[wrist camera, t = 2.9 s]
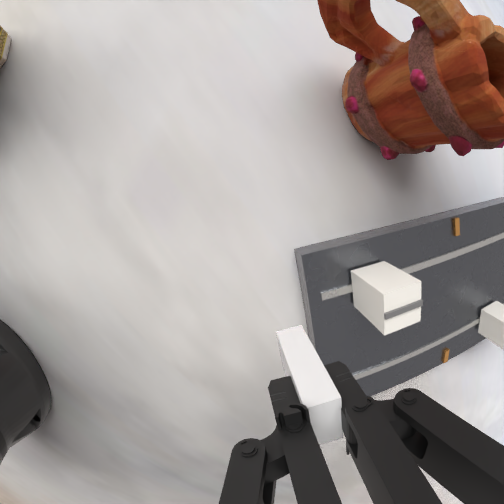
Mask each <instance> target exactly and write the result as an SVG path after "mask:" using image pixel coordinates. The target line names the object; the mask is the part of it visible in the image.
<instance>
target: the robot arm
mask: <svg viewBox="0 0 504 504" xmlns="http://www.w3.org/2000/svg"><path fill="white" fill-rule="evenodd" d="M276 334H277V339H278V344H279V349H280V353H281V358H282V363H283V368H284V371H285V374H286V377H283V378H279V379H275V380H271V381H270V384H269V387H268V389H269V393H270V397H271V401H272V405H273V409H274V414H275V419H276V423H277V426H276V429H275V431H274V432H273V433H272V434H271V435H270V436H268V437H267V438H265V439H263V440H258V439H253V438H250V439H244V440H242V441H240V442H238V443H237V444H236V445H235V446H234V448H233V450H232V453H231V457H230V461H229V466H228V470H227V474H226V478H225V482H224V486H223V489H222V493H221V497H220V501H219V504H274V496H275V488H276V480H277V479H279V478H281V477H283V476H285V475H287V474H289V473H290V477H291V480H292V484H293V488H294V492H295V495H296V499H297V503H298V504H342V503H341V500H340V498H339V495H338V493H337V490H336V487H335V485H334V482H333V480H332V477H331V474H330V472H329V469H328V467H327V464H326V461H325V459H324V456H323V454H322V451H321V449H320V446H319V445H321V444H324V443H328V442H331V441H334V440H337V439H340V438H343V432H344V435H345V437H346V452H347V455H348V454H349V452H350V454H351V456H352V458H353V460H354V462H355V464H356V467H357V469H358V471H359V473H360V475H361V477H362V479H363V482H364V484H365V486H366V488H367V490H368V492H369V495H370V497H371V499H372V501H373V503H374V504H442V503H441V501H440V499H439V498H438V496H437V495H436V493H435V492H434V490H433V488H432V487H431V485H430V484H429V482H428V481H427V479H426V477H425V476H424V474H423V473H422V471H421V470H420V468H419V467H421V468H422V469H423V470H424V471H425V472H427V473H428V474H429V475H430V476H431V477H432V478H434V479H435V480H436V481H437V482H438V483H440V484H441V485H442V486H443V487H444V488H446V489H447V490H448V491H449V492H451V493H452V494H453V495H454V496H455V497H457V498H458V499H459V500H460V501H462V502H463V503H464V504H504V446H503V445H501V444H500V443H498V442H497V441H495V440H494V439H492V438H491V437H489V436H487V435H486V434H484V433H483V432H481V431H480V430H478V429H477V428H475V427H474V426H472V425H471V424H469V423H467V422H466V421H464V420H463V419H461V418H460V417H458V416H457V415H455V414H454V413H452V412H451V411H449V410H448V409H446V408H445V407H443V406H442V405H440V404H439V403H437V402H436V401H434V400H433V399H431V398H430V397H428V396H427V395H425V394H424V393H422V392H421V391H419V390H417V389H413V388H408V389H403V390H401V391H399V392H398V393H397V394H396V395H395V398H394V399H391V400H384V401H378V400H374V399H373V398H372V397H369V396H366V395H365V393H364V392H363V390H362V389H361V387H360V385H359V384H358V382H357V381H356V379H355V378H354V377H353V375H352V373H351V372H350V370H349V369H348V367H347V366H346V365H345V364H343V363H342V362H340V361H337V362H333V363H330V364H327V365H323V363H322V361H321V359H320V358H319V356H318V354H317V352H316V350H315V349H314V347H313V345H312V343H311V341H310V339H309V338H308V336H307V334H306V332H305V330H304V329H303V327H302V325H299V326H295V327H291V328H288V329H284V330H280V331H276ZM50 407H51V394H50V390H49V386H48V383H47V380H46V378H45V376H44V374H43V372H42V370H41V368H40V366H39V364H38V363H37V361H36V359H35V358H34V356H33V355H32V353H31V352H30V351H29V349H28V348H27V347H26V345H25V344H24V343H23V342H22V340H21V339H20V338H19V337H18V336H17V335H16V334H15V333H14V332H13V331H12V330H11V329H10V328H9V327H8V326H7V325H6V324H4V323H3V322H2V321H1V320H0V464H1V462H2V460H3V458H4V456H5V455H6V453H7V451H8V450H9V448H10V447H12V446H13V445H14V444H16V443H17V442H19V441H20V440H22V439H23V438H25V437H26V436H27V435H29V434H30V433H32V432H33V431H35V430H36V429H37V428H38V427H40V425H41V424H42V423H43V421H44V419H45V418H46V416H47V414H48V412H49V410H50ZM418 466H419V467H418Z"/></svg>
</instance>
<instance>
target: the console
mask: <svg viewBox="0 0 504 504" xmlns="http://www.w3.org/2000/svg"><path fill="white" fill-rule="evenodd" d="M294 251H295V256H296V262H297V268H298V273H299V279H300V285H301V291H302V297H303V303H304V309H305V316H306V322H307V329H308V335H309V339H310V341H311V343H312V345H313V347H314V349H315V350H316V352H317V354H318V356H319V358H320V359H321V361H322V363H323V365H327V364H330V363H333V362H337V361H340V362H342V363H343V364H345V365H346V366H347V367H348V369H349V370H350V372H351V373H352V375H353V377H354V378H355V379H356V381H357V382H358V384H359V385H360V387H361V389H362V390H363V392H364V393H365V395H366V396H369V397H370V396H372V395H375V394H377V393H380V392H382V391H384V390H387V389H389V388H392V387H394V386H396V385H398V384H401V383H403V382H405V381H407V380H409V379H412V378H414V377H416V376H418V375H420V374H422V373H424V372H426V371H428V370H430V369H432V368H434V367H436V366H438V365H440V364H442V363H445V362H447V361H448V360H449V359H451V358H453V357H455V356H457V355H458V354H460V353H462V352H464V351H465V350H467V349H469V348H470V347H472V346H474V345H475V344H477V343H479V342H480V341H482V340H484V339H485V337H484V336H483V335H481V334H480V333H478V329H479V322H480V315H481V309H483V308H485V307H486V306H488V305H490V304H492V303H493V302H495V301H498V302H500V303H502V304H504V197H501V198H497V199H493V200H489V201H485V202H481V203H478V204H474V205H470V206H466V207H462V208H458V209H454V210H450V211H446V212H442V213H438V214H434V215H430V216H426V217H422V218H418V219H414V220H410V221H406V222H402V223H398V224H394V225H390V226H386V227H382V228H378V229H374V230H370V231H366V232H362V233H358V234H354V235H350V236H346V237H341V238H337V239H333V240H329V241H325V242H321V243H317V244H313V245H309V246H305V247H300V248H296V249H294ZM382 261H385V262H387V263H389V264H391V265H393V266H395V267H396V268H398V269H400V270H402V271H404V272H406V273H408V274H409V275H411V276H413V277H415V278H417V279H418V280H420V281H421V299H422V300H423V306H421V320H420V321H419V322H417V323H415V324H412V325H410V326H407V327H405V328H402V329H400V330H397V331H395V332H392V333H390V334H387V335H383V334H382V333H381V332H380V331H379V330H378V329H377V328H376V327H375V326H374V325H373V324H372V323H371V322H370V321H369V320H368V319H367V318H366V317H365V316H364V315H363V314H362V313H361V312H360V311H359V310H357V309H356V308H355V307H354V301H353V290H352V280H351V270H355V269H358V268H362V267H365V266H369V265H372V264H376V263H379V262H382Z"/></svg>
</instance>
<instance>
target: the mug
mask: <svg viewBox="0 0 504 504" xmlns="http://www.w3.org/2000/svg"><path fill="white" fill-rule="evenodd" d="M396 1H398V2H400V3H402V4H405V5H407V6H409V7H411V8H412V9H414V10H415V11H416V12H417V13H418V14H419V15H420V16H421V17H420V16H418V17H415V18H414V19H413V21H412V23H413V27H414V32H413V34H412V36H411V39H410V40H409V41H407V42H405V43H404V42H400V41H399V40H398V39H396V38H395V37H393V36H392V35H391V34H390V33H388V32H387V31H386V30H384V29H383V28H382V27H381V26H379V25H378V24H377V22H376V20H375V18H374V16H373V14H372V12H371V7H370V0H318V5H319V10H320V14H321V17H322V19H323V22H324V24H325V27H326V29H327V31H328V33H329V36H330V38H331V39H332V40H334V41H335V42H336V43H338V44H340V45H343V46H345V47H347V48H349V49H351V50H353V51H355V52H356V54H355V60H356V63H355V65H354V66H353V67H352V68H351V69H350V70H348V72H347V73H346V75H345V79H344V83H343V86H342V98H343V104H344V108H345V110H346V112H347V114H348V116H349V118H350V120H351V122H352V124H353V125H354V127H355V128H356V129H357V131H358V132H359V133H360V134H361V135H362V136H363V137H365V138H366V139H367V140H369V141H372V142H374V143H375V144H377V145H378V146H379V147H380V148H381V149H380V150H381V153H382V156H383V157H384V158H385V159H387V160H391V159H395V158H396V157H397V156H398V154H399V153H400V154H417V153H421V152H424V151H426V152H432V151H433V150H434V149H435V145H438V144H451V146H452V148H453V149H454V151H455V152H456V153H457V154H458V155H460V156H464V155H466V154H467V153H469V152H470V151H471V149H493V148H503V146H504V28H503V27H501V26H496V25H494V24H493V22H492V21H491V19H490V18H488V17H486V16H482V15H477V16H472V15H470V14H469V13H468V12H467V10H466V9H465V8H464V6H463V5H462V3H461V2H460V0H396Z"/></svg>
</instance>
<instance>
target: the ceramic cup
mask: <svg viewBox="0 0 504 504" xmlns="http://www.w3.org/2000/svg"><path fill="white" fill-rule="evenodd" d="M10 43H11V38H10V36H9V35H8V34H7V32H6V31H5V30H4V29H3V28H2V27H1V26H0V68H1V67H2V66H3V64H4V63H5V61H6V60H7V56H8V51H9V47H10Z"/></svg>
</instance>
